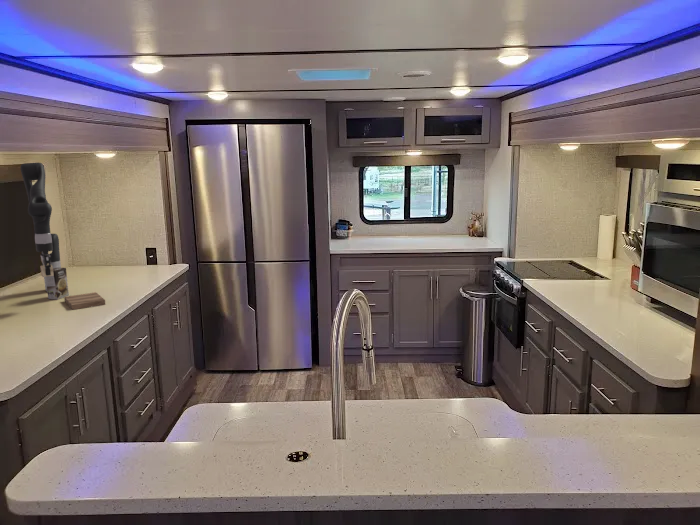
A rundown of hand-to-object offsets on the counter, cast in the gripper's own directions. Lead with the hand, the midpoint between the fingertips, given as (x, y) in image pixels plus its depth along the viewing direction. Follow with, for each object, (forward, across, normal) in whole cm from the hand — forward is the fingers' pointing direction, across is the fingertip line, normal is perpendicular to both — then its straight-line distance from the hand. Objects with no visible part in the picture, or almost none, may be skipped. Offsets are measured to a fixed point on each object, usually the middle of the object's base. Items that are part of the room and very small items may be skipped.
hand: (47, 274), depth 284 cm
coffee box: (+18, -18, +6) cm, 26 cm away
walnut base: (+17, +3, +16) cm, 24 cm away
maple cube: (+1, 0, 0) cm, 1 cm away
